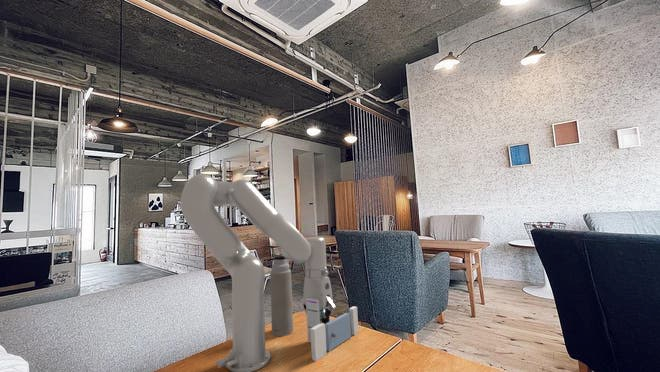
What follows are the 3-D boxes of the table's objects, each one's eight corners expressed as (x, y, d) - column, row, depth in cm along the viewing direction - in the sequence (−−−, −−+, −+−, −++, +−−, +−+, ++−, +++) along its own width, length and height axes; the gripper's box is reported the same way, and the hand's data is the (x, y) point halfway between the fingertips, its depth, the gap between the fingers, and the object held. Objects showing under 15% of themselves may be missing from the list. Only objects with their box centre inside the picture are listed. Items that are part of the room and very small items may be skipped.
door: (331, 352, 85) (330, 323, 86) (325, 350, 87) (324, 321, 88) (355, 336, 96) (353, 310, 96) (349, 334, 97) (348, 309, 98)
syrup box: (320, 346, 89) (318, 300, 90) (307, 341, 92) (305, 297, 94) (331, 339, 93) (329, 295, 95) (317, 335, 97) (316, 293, 98)
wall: (315, 361, 81) (314, 329, 82) (311, 359, 82) (310, 328, 83) (358, 332, 99) (357, 306, 100) (354, 331, 100) (353, 306, 101)
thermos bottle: (267, 333, 102) (265, 257, 105) (282, 325, 109) (280, 254, 112) (282, 338, 98) (279, 258, 101) (297, 329, 104) (294, 255, 107)
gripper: (342, 273, 93) (345, 328, 91) (305, 268, 103) (307, 318, 102) (328, 278, 87) (331, 337, 85) (291, 272, 98) (293, 325, 96)
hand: (318, 326), depth 93 cm, fingers closed on syrup box, 5 cm apart
